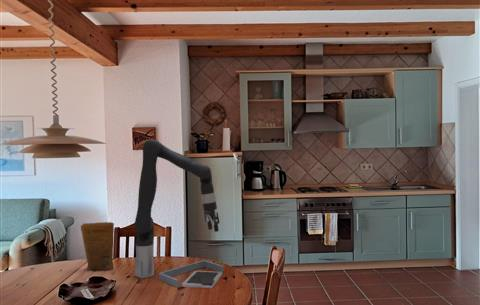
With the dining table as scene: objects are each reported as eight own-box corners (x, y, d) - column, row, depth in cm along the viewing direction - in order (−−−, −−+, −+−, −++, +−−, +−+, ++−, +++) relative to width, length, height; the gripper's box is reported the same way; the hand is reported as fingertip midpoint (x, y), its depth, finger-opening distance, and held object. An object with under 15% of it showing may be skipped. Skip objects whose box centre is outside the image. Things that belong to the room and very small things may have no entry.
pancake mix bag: (112, 272, 220) (111, 223, 219) (81, 271, 222) (79, 223, 221) (117, 268, 226) (116, 220, 226) (87, 267, 228) (85, 220, 228)
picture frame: (211, 289, 191) (222, 275, 212) (211, 284, 191) (222, 270, 212) (182, 287, 195) (195, 274, 215) (181, 282, 195) (195, 269, 215)
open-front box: (176, 287, 193) (176, 280, 193) (158, 279, 205) (158, 273, 205) (223, 272, 215) (223, 265, 215) (204, 265, 227) (204, 259, 227)
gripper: (198, 202, 217) (202, 230, 217) (207, 203, 205) (212, 233, 205) (210, 199, 221) (214, 227, 221) (220, 200, 208) (225, 230, 208)
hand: (213, 230), depth 213 cm, fingers open, 8 cm apart
